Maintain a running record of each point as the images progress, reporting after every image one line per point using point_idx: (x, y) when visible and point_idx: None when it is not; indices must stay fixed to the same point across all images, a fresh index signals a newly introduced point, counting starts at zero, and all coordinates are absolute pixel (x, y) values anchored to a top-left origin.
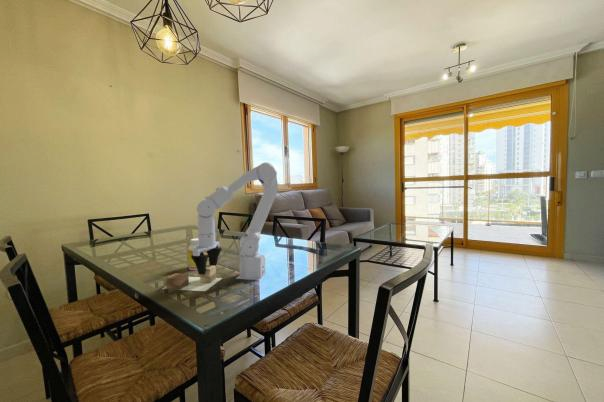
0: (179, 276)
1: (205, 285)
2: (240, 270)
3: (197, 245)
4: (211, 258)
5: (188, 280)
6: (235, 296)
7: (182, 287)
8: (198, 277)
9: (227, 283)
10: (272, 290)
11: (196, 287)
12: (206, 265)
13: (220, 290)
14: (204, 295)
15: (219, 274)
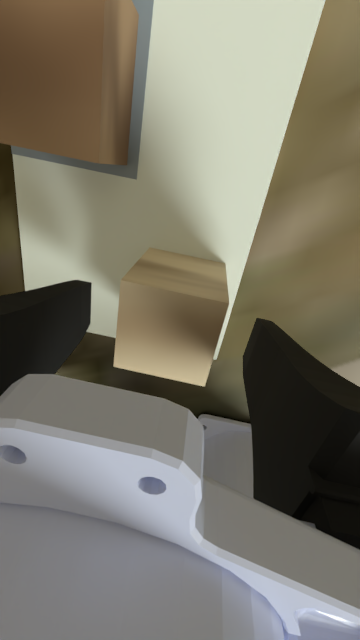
0: (14, 96)
1: (101, 296)
2: (213, 469)
3: (45, 465)
4: (270, 383)
5: (116, 164)
6: None
7: None
8: (259, 190)
9: (159, 384)
10: None
11: (65, 254)
12: (222, 311)
13: (73, 370)
14: None
15: (328, 316)
